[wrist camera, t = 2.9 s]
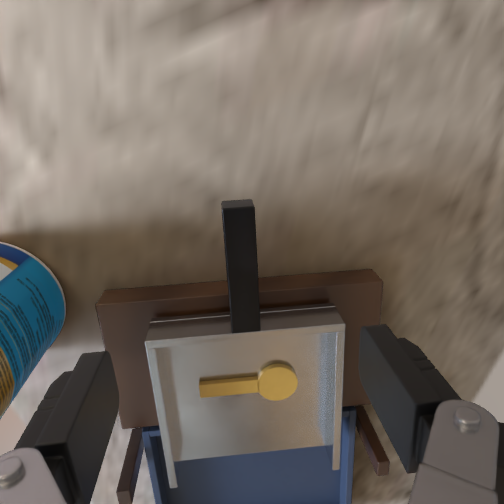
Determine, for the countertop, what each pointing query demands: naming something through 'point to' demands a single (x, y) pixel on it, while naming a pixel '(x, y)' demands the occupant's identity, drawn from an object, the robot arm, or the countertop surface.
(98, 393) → the robot arm
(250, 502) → the tray
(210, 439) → the grey dustpan
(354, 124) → the countertop surface
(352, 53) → the countertop surface
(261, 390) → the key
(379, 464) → the stand
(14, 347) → the beverage bottle
